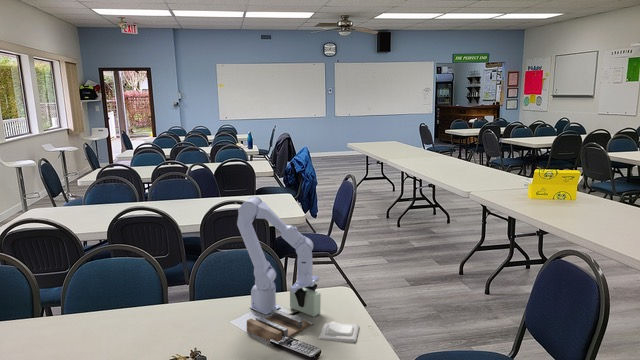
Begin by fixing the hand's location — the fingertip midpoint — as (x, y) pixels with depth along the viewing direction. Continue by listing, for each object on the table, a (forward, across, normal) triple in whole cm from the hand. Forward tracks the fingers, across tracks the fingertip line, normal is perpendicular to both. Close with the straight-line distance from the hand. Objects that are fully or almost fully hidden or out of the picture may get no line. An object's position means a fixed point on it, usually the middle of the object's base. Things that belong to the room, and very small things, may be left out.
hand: (305, 304), depth 173 cm
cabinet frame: (+3, -16, -2) cm, 16 cm away
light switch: (+4, -5, -20) cm, 21 cm away
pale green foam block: (+2, 0, 0) cm, 2 cm away
